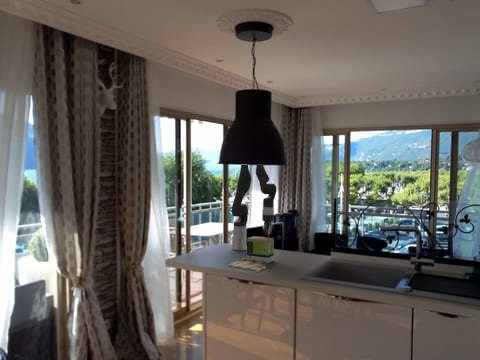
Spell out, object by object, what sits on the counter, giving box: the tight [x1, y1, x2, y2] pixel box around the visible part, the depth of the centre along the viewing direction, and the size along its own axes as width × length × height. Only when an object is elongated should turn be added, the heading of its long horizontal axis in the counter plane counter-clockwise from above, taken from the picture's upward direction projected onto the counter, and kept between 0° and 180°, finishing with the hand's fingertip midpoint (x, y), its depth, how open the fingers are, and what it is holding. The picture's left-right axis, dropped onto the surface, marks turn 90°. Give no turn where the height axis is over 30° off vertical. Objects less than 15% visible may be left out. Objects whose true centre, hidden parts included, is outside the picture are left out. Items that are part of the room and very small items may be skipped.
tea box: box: [246, 235, 275, 264], centre depth 257 cm, size 15×10×15 cm, turn 63°
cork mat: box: [227, 258, 268, 272], centre depth 243 cm, size 18×16×2 cm
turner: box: [254, 264, 273, 273], centre depth 236 cm, size 16×4×1 cm, turn 149°
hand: (267, 239), depth 265 cm, fingers closed
